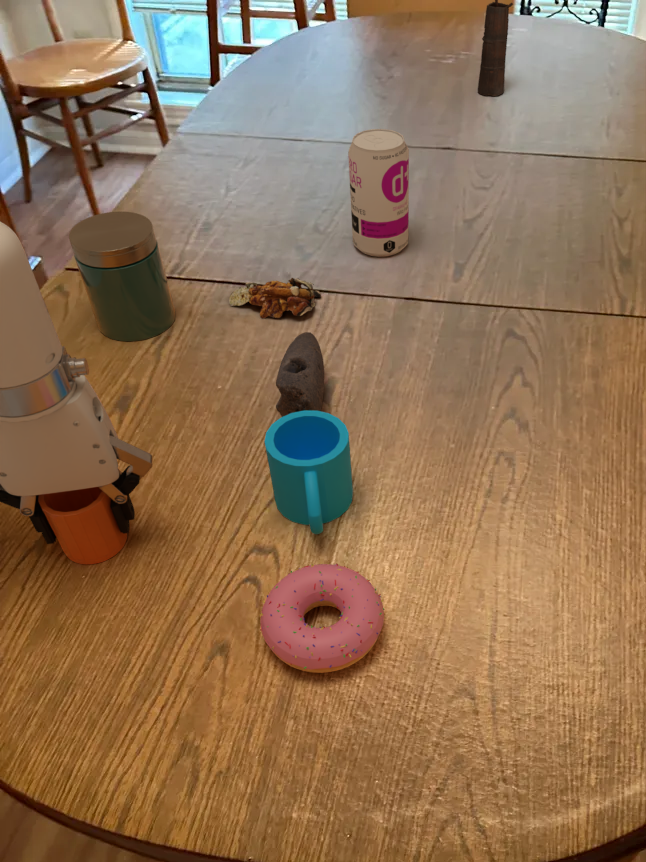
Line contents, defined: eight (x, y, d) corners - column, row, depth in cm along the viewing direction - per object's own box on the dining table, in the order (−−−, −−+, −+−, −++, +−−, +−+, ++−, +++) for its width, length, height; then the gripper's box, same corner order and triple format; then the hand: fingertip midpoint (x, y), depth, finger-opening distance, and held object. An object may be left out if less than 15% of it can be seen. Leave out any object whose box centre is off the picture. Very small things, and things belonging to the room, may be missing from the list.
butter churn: (525, 87, 158) (544, -89, 137) (510, 103, 152) (527, -77, 131) (482, 80, 160) (494, -93, 139) (465, 96, 155) (475, -82, 134)
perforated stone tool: (291, 360, 98) (285, 312, 92) (334, 361, 98) (329, 312, 92) (274, 441, 88) (265, 391, 83) (321, 442, 88) (315, 392, 82)
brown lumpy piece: (237, 287, 109) (233, 263, 106) (322, 293, 108) (320, 269, 105) (222, 315, 104) (217, 291, 102) (311, 322, 103) (308, 298, 100)
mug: (273, 473, 84) (263, 414, 78) (349, 465, 85) (344, 406, 79) (277, 558, 77) (266, 499, 70) (361, 548, 77) (357, 490, 71)
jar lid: (71, 271, 92) (65, 255, 91) (77, 231, 99) (72, 215, 97) (156, 263, 93) (151, 246, 92) (157, 224, 100) (153, 208, 98)
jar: (95, 345, 100) (66, 261, 91) (100, 303, 106) (73, 220, 98) (175, 336, 101) (154, 252, 92) (175, 295, 108) (155, 212, 99)
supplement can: (419, 244, 117) (421, 138, 105) (380, 264, 113) (378, 158, 101) (380, 225, 120) (378, 122, 109) (341, 245, 116) (335, 139, 105)
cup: (60, 569, 76) (34, 519, 70) (66, 522, 80) (42, 472, 74) (126, 559, 76) (105, 510, 71) (128, 513, 80) (109, 464, 75)
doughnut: (238, 645, 70) (230, 618, 67) (311, 564, 76) (307, 536, 73) (339, 703, 66) (335, 676, 63) (407, 612, 72) (407, 584, 69)
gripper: (133, 339, 67) (179, 489, 80) (-82, 363, 65) (2, 513, 78) (130, 394, 62) (180, 543, 75) (-103, 422, 60) (-9, 570, 73)
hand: (89, 527), depth 77 cm, fingers closed on cup, 6 cm apart
